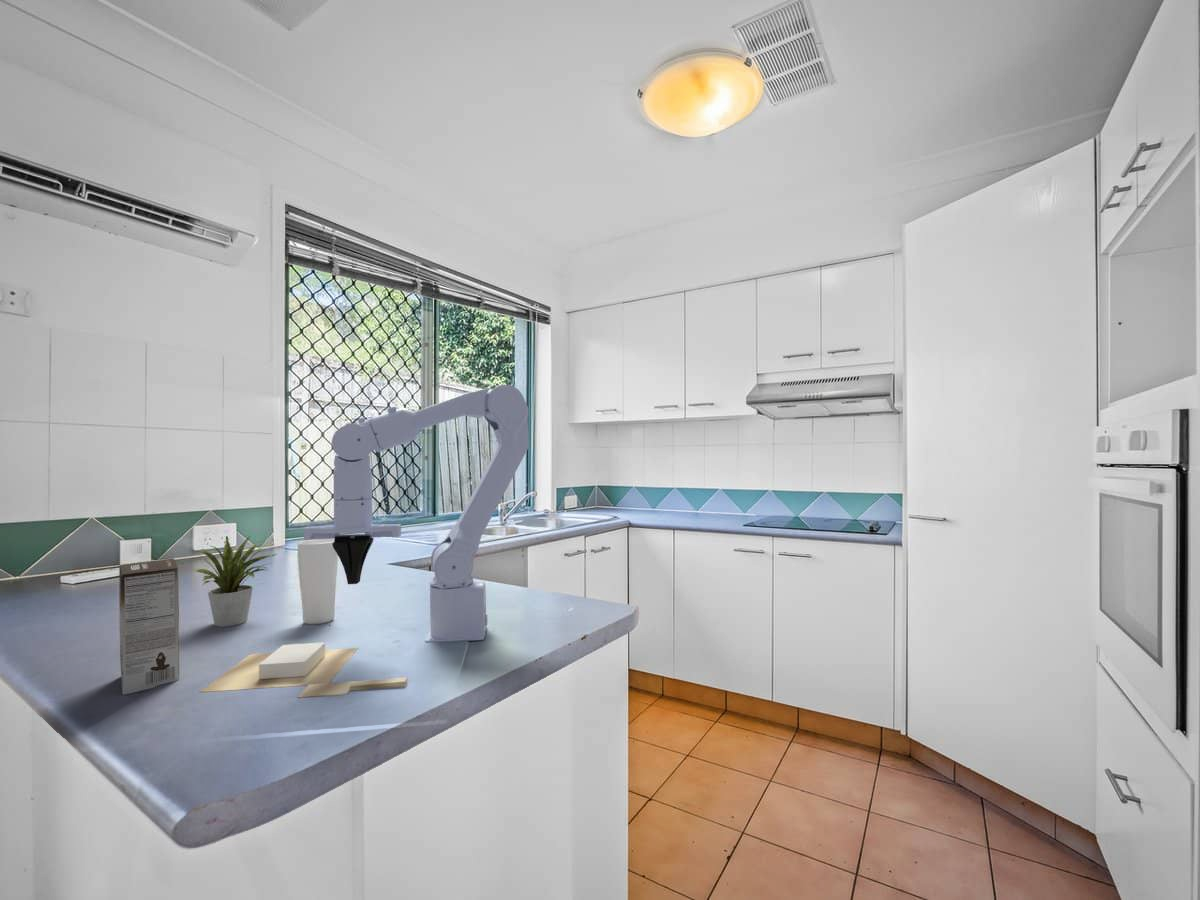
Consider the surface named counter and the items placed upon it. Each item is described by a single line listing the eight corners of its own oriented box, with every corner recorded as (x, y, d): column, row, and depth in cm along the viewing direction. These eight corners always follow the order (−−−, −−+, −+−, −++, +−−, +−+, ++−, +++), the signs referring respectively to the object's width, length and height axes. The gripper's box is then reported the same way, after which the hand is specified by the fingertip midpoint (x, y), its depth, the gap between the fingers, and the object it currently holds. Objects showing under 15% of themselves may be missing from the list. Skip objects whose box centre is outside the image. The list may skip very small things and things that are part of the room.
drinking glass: (307, 616, 109) (306, 539, 109) (344, 615, 110) (343, 538, 110) (291, 627, 103) (290, 544, 103) (330, 626, 103) (329, 543, 103)
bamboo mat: (358, 650, 90) (358, 647, 90) (328, 686, 76) (328, 683, 76) (250, 656, 88) (250, 654, 88) (199, 695, 74) (199, 692, 74)
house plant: (241, 636, 98) (240, 542, 98) (162, 637, 98) (161, 542, 98) (288, 613, 112) (287, 530, 112) (219, 613, 112) (218, 531, 112)
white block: (325, 642, 87) (283, 644, 86) (305, 661, 79) (258, 664, 78) (325, 656, 86) (283, 658, 86) (305, 676, 79) (259, 679, 78)
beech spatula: (409, 680, 78) (409, 673, 78) (403, 693, 74) (403, 685, 74) (308, 688, 76) (308, 681, 76) (297, 702, 72) (296, 694, 72)
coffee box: (119, 676, 81) (118, 563, 81) (175, 664, 85) (174, 557, 85) (121, 696, 74) (120, 573, 74) (181, 682, 78) (180, 566, 78)
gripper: (404, 496, 97) (405, 575, 97) (314, 498, 95) (315, 579, 95) (395, 499, 90) (396, 585, 90) (298, 501, 88) (299, 589, 88)
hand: (353, 582), depth 92 cm, fingers closed
